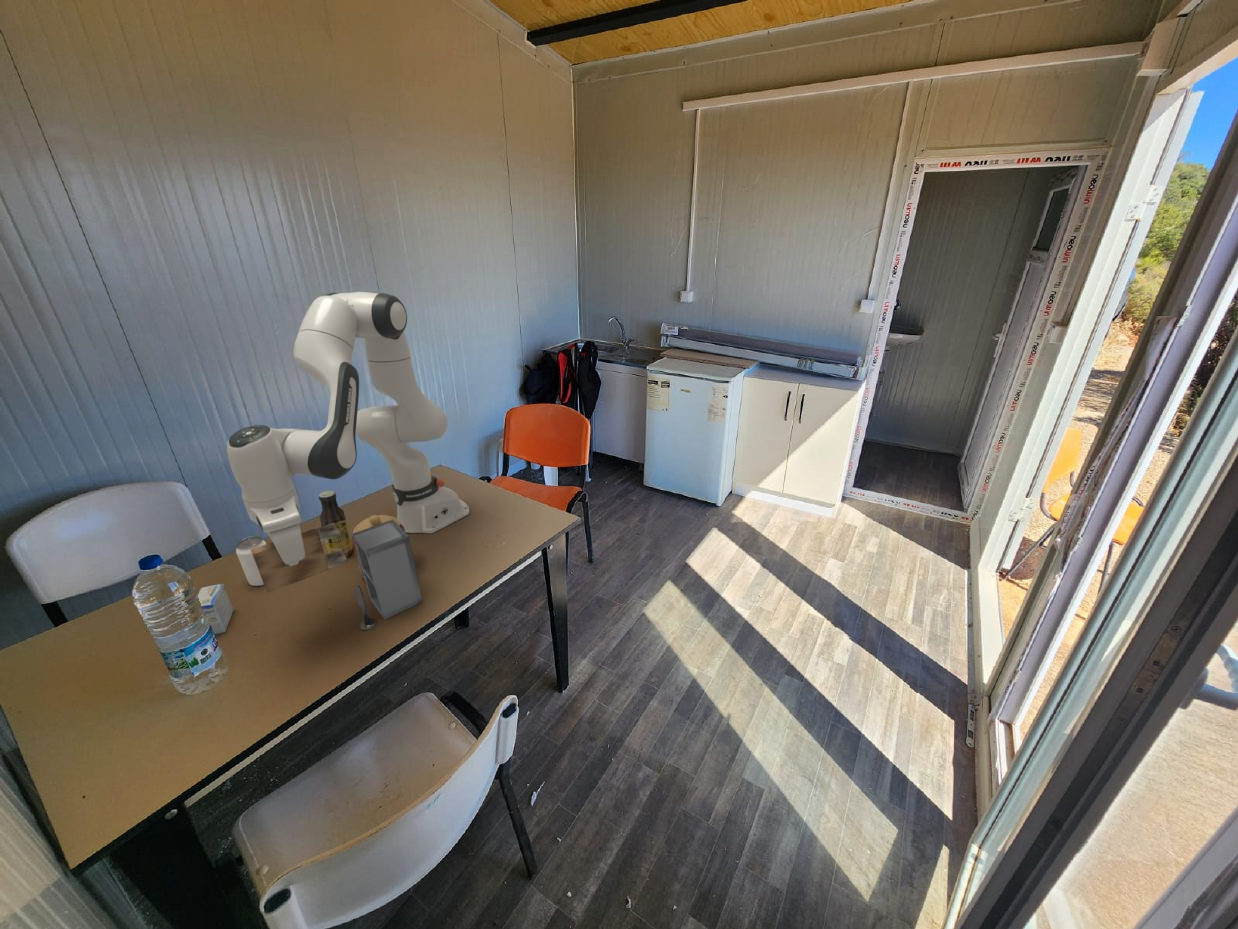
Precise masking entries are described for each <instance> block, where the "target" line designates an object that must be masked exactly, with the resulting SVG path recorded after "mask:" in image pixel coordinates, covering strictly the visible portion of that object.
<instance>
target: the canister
mask: <svg viewBox="0 0 1238 929" xmlns="http://www.w3.org/2000/svg"><path fill="white" fill-rule="evenodd" d="M392 519H393V520H394V521H395V522H396V523H397V524H398V525H399V526H400V527H401V528H402V530H403V531H404V532H405V528H404V526H403V525H402V524H400V522H399V520H398V519H397V517H395V516H394V515H393V516H392V515H387V514H373V515H371V516H369V517H366V518H364V519H363V520H362V521H361V522H359V523H358V524H357V525H355V527H354V528H353V530H352V534H353V533H356V532H359V531H361V530H364V529H367V528H370V527H373V526H376V525H378V524H381V523H384V522H387V521H390V520H392ZM405 533H406V532H405ZM351 544H352V546H353V547H354V554H355V557H356V560H357V563H358V567H359V568H358V569H359V573H360V575H361V577H362V579H363V580H364V581H365V578H364V574H363V571H362V567H361V563H360V560H359V556H358V552H357V549H356V545H355V541H354V538H353V536H352V537H351Z"/></svg>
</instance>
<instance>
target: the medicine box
mask: <svg viewBox="0 0 1238 929" xmlns="http://www.w3.org/2000/svg"><path fill="white" fill-rule="evenodd" d="M197 596H198V598H199V601H200V603H201V606H202V609H203V611H204V613H205V614H206V617H207V619H209V623H210V625H211V626H212V628H213V631H214V632H215V635H219V634H223V633H226V631H227V629H228V626H229V625H230V624H229V623H230V620H231V619H232V616H233V613H234V610H235V609H234V607H233V605H232V602H231V600H230V597H229V595H228V592H227V590H226V587H225V585H224V584H223V583H218V584H214V585H209V586H204V587H201V588H200V589H199V592H198V594H197Z"/></svg>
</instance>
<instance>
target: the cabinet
mask: <svg viewBox="0 0 1238 929" xmlns="http://www.w3.org/2000/svg"><path fill="white" fill-rule="evenodd" d="M352 537H353V538H354V541H355V545H356V549H357V552H358V556H359V560H360V563H361V567H362V571H363V574H364V578H365V580H364V581H365V584H366V590H367V591H368V592H367V593H368V595H369V598H370V601H371V602H372V604H373V606H374V607H375V608H376V610H377V611H378V612H379V614H380V616H381V617H382V619H383V620H385V621H386V620H388V619H389V618H391V617H394V616H396V615H398V614H400V613H402V612H404V611H407V610H409V609H411V608H413V607H415V606H417V605H419V604H421V603H423V596H422V591H421V587H420V582H419V578H418V573H417V569H416V568H417V567H416V563H415V558H414V553H413V549H412V544H411V539H410V536H409V535H408V534H407V532H404V531H403V530H402V528H401V527H400V526H399V525H398V524H397V523H396V522H395V521H394V520H393V519H392V520H390V521H387V522H384V523H381V524H378V525H376V526H373V527H370V528H367V529H364V530H361V531H359V532H356V533H353V532H352Z"/></svg>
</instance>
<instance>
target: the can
mask: <svg viewBox="0 0 1238 929" xmlns="http://www.w3.org/2000/svg"><path fill="white" fill-rule="evenodd" d="M265 544H267V543H266V541H265V540H264V539H263V537H261V536H260V535H253V536H248V537H245V538H243V539H241V540H240V541H238V542H237V543H236V544H235V545H236V546H235V547H236V550H235V552H236V555H237V558H238V560H239V563H240V565H241V569H242V570H243V573H244V575H245V577H246V580H247V582H248V584H249V585H250V586H253V587H260V586H261V587H262V586H264V583H263V581H262V578H261V576H260V573H259V570H258V568H257V565H256V562H255V560H254V557H253V555H252V552H251V549H253V548H256V547H259V546H262V545H265Z"/></svg>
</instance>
